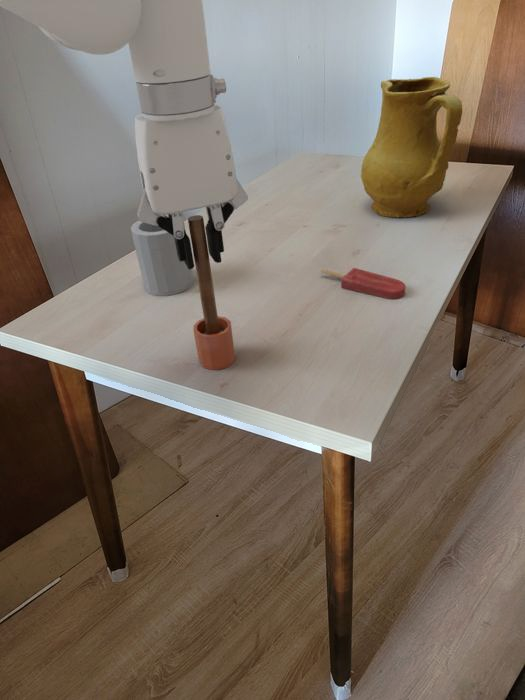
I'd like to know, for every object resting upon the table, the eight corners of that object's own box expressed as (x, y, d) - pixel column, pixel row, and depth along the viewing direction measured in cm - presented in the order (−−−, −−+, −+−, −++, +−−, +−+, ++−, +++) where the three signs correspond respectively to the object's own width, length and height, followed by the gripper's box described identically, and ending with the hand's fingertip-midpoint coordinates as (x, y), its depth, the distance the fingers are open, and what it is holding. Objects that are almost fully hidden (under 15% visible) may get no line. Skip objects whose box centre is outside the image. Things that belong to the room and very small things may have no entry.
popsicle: (327, 260, 90) (410, 280, 83) (327, 269, 91) (409, 290, 84) (314, 271, 87) (398, 293, 80) (314, 280, 89) (397, 303, 81)
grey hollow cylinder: (135, 291, 90) (120, 232, 84) (162, 269, 97) (150, 212, 90) (176, 299, 87) (164, 237, 81) (202, 275, 93) (193, 217, 87)
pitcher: (424, 187, 120) (436, 67, 105) (457, 221, 106) (477, 87, 90) (351, 198, 120) (352, 78, 104) (375, 233, 105) (380, 101, 90)
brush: (204, 359, 72) (180, 221, 60) (213, 349, 74) (191, 212, 62) (220, 363, 71) (199, 223, 59) (229, 352, 73) (210, 214, 61)
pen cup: (192, 365, 72) (186, 332, 68) (210, 345, 75) (205, 313, 72) (224, 373, 70) (219, 339, 66) (241, 352, 73) (237, 319, 70)
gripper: (240, 82, 58) (254, 237, 69) (92, 103, 54) (131, 264, 65) (263, 91, 52) (274, 259, 63) (100, 116, 48) (141, 290, 59)
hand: (201, 260), depth 64 cm, fingers closed
